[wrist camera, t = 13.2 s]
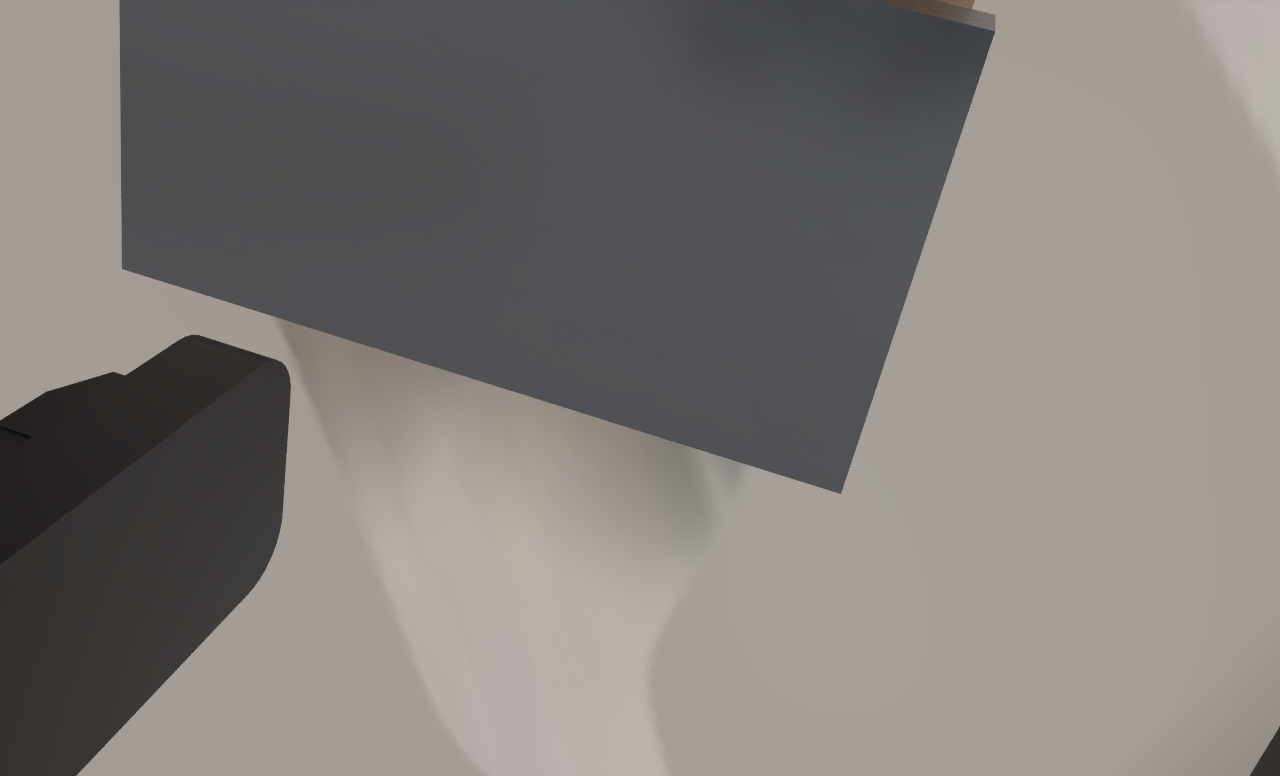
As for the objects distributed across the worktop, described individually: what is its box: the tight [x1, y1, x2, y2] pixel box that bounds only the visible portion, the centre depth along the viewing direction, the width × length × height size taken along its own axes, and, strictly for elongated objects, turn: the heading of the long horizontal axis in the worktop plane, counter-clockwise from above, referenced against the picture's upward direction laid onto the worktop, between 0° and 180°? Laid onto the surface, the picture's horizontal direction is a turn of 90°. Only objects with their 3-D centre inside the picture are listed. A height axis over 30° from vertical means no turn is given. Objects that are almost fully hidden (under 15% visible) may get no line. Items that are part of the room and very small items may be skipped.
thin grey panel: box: [120, 0, 995, 494], centre depth 29 cm, size 14×8×20 cm, turn 78°
